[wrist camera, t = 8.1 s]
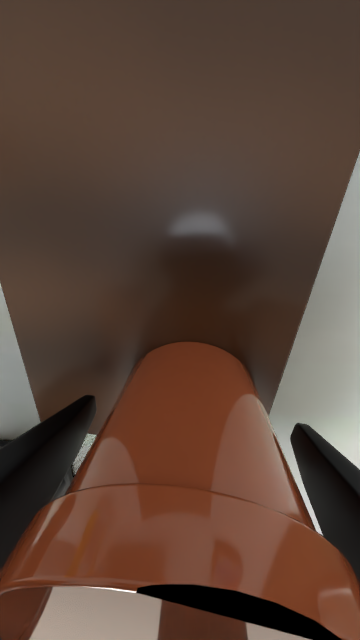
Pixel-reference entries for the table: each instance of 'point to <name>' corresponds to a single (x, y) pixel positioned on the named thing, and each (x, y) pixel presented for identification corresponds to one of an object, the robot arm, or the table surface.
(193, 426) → the terracotta pot
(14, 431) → the table surface
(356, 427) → the table surface
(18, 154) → the walnut board
